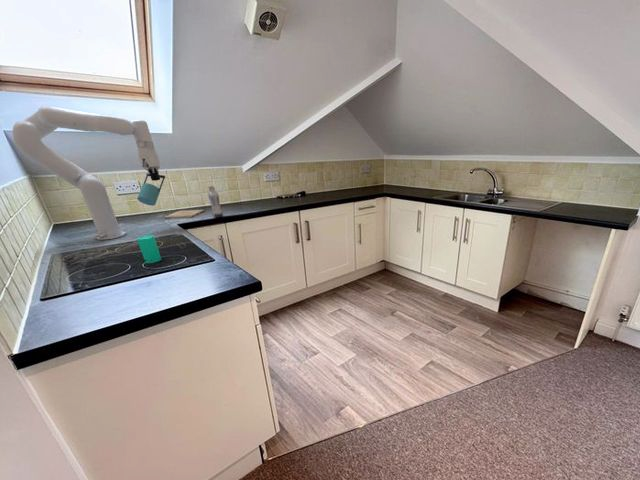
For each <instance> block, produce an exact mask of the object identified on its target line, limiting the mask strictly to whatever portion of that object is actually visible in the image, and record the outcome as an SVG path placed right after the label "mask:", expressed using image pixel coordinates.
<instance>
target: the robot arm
mask: <svg viewBox="0 0 640 480" xmlns="http://www.w3.org/2000/svg"><path fill="white" fill-rule="evenodd" d="M58 128H60V129H68V130H74V131H80V132H81V131H82V132H89V133H90V132H91V133H96V132H102V133H110V134H118V135H120V136H132V135H133V138H134V140H135V143H136V146H137V155H138V159H139V162H140V165H141V168H143V169H144V170H145V171H147V173H149V174H150V176H149V177H150V179H151V181H153V182H154V181H156V182H157V181H160V180H161V178H158V177H157V175H160V173H159V171H160V170H159V169H160V166H161V164H160V159H159V156H158V153H157V151H156V149H155V145H154V142H153V139H152V135H151V132H150V129H149V128H150V127H149V126H148V123H147V121H146V120H142V119H132V120H128V119H126V118H123V117H117V116H111V115H110V116H109V115H104V114H97V113H92V112H86V111H80V110H73V109H68V108H63V107H62V108H61V107H56V106H50V105H49V106H48V105H43V106H41V107H39V108H38V110H37V111H35V112H34V113H33V114H31V115H30V116H28V117H26V118H25V119H23V120H20V121H17V122H15V123H14V124H13V126H12V138H13V141H14V144H15V145H16V147H17V148H18V149H19V150H20V151H21V152H22V153H23V154H24V156H26V157H27V158H29V159H31V160H32V161H34V162H35V163H37V164H39V165H40V166H42V167H43V168H44V169H46V170H48V171H50V172H51V173H53V174H54V175H55V176H56V177H58V178H59V179H62V180H63V181H65V182H67V183H68V184H70V185H71V186H73V187H75V188H77V189H78V190H80V192H81V194H82V196H83V199H84V202H85V205H86V207H87V209H88V211H89V214H90V217H91V219H92V221H93V223H94V226H95V229H96V231H95V232H96V233H94V234H92V235H91V238H92V239H96V240H98V241H105V240H113V239H117V238H118V239H119V238H122V237H124V236H126V232H125V231H122V230H121V228H120V225H119V223H118V220H117V218H116V214H115V211H114V209H113V206H112V204H111V201H110V198H109V195H108V192H107V189H106V186H105V184H104V182H103V181H101V179H99V178H97V177H95V176H93V175H92V174H91V173H89V172H87V171H86V170H85V169H82V167H80V166H78V165H77V164H75V163H74V162H73V161H71V160H68V159H67V158H65V157H64V156H62V155H60V154H59V153H57V152H56V151H54V150H53V149H52V148H50V147H49V146H47V145H46V144H45V143H44V142H43V141H42V140H43V139H44V138H45V137H47V136H48V135H50V134H52V133H53V132H54V131H56V130H57V129H58Z"/></svg>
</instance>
